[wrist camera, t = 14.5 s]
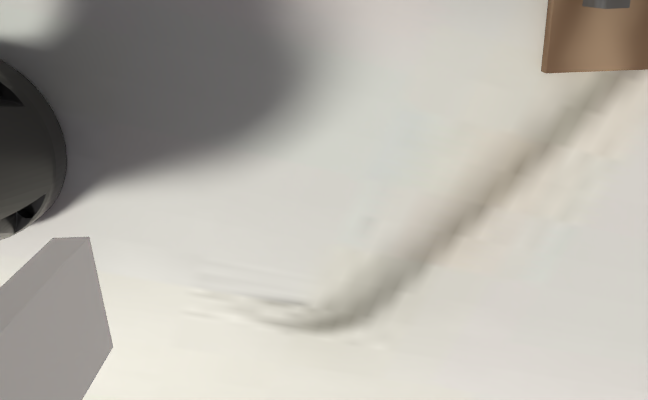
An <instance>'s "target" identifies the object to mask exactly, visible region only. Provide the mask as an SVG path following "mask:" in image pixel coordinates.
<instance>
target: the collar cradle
mask: <svg viewBox="0 0 648 400" xmlns="http://www.w3.org/2000/svg"><path fill="white" fill-rule="evenodd" d="M643 69H648V0H548V9H547V19H546V29H545V38H544V48H543V58H542V67H541V71H542V72H544V73H564V72H591V71H617V70H643Z"/></svg>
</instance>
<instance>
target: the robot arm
mask: <svg viewBox="0 0 648 400" xmlns="http://www.w3.org/2000/svg"><path fill="white" fill-rule="evenodd" d="M65 173H66V148H65V142H64V138H63V134H62V131H61V128H60V126H59V123H58V121H57V119H56V117H55V115H54V113H53V111H52V109H51V108H50V106H49V105H48V103H47V102H46V100H45V99H44V97H43V96H42V95H41V94H40V92H39V91H38V90H37V89H36V88H35V87H34V86H33V85H32V84H31V83H30V82H29V81H28V80H27V79H26V78H25V77H24V76H23V75H21V74H20V73H19V72H18V71H16V70H15V69H14V68H12V67H11V66H9V65H8V64H6V63H4V62H3V61H1V60H0V240H2V239H5V238H8V237H10V236H12V235H14V234H16V233H18V232H20V231H22V230H24V229H25V228H27V227H28V226H29V225H31V224H32V223H33V222H34V221H36V220H37V219H38V218H39V217H40V216H42V215H43V214H44V213H45V212H46V211H47V210H48V209H49V208H50V207H51V206H52V204H53V203H54V201H55V200H56V198H57V197H58V195H59V193H60V190H61V188H62V185H63V182H64V178H65ZM112 348H113V344H112V339H111V335H110V330H109V326H108V321H107V316H106V312H105V307H104V303H103V298H102V293H101V289H100V284H99V280H98V275H97V270H96V266H95V261H94V257H93V252H92V247H91V243H90V238H89V237H70V238H52V239H51V240H50V241H49V242H48V243H47V244H46V245H45V246H44V247H43V248H42V249H41V250H40V251H39V252H38V253H37V254H35V255H34V256H33V257H32V258H31V259H30V260H29V261H28V262H27V263H26V264H25V265H24V266H23V267H22V268H21V269H20V270H18V271H17V272H16V273H15V274H14V275H13V276H12V277H11V278H10V279H9V280H8V281H7V282H6V283H5V284H4V285H3V286H2V287H0V400H82V399H83V397H84V395H85V394H86V392H87V390H88V389H89V387H90V385H91V384H92V382H93V380H94V378H95V377H96V375H97V373H98V372H99V370H100V368H101V366H102V365H103V363H104V361H105V360H106V358H107V356H108V355H109V353H110V351H111V349H112Z"/></svg>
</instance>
